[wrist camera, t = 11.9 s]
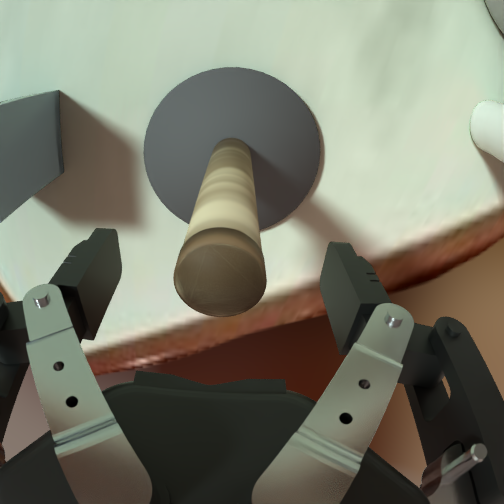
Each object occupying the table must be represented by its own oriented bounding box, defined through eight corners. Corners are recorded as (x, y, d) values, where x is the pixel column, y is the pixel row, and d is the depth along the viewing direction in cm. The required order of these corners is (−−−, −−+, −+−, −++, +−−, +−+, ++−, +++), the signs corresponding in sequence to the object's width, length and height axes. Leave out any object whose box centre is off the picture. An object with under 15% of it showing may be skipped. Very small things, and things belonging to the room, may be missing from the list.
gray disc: (147, 67, 21) (145, 66, 20) (328, 78, 22) (331, 78, 21) (149, 226, 28) (147, 230, 27) (304, 235, 29) (305, 239, 28)
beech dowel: (212, 135, 23) (171, 239, 10) (253, 138, 24) (271, 245, 10) (210, 173, 25) (176, 313, 11) (249, 176, 25) (261, 318, 12)
